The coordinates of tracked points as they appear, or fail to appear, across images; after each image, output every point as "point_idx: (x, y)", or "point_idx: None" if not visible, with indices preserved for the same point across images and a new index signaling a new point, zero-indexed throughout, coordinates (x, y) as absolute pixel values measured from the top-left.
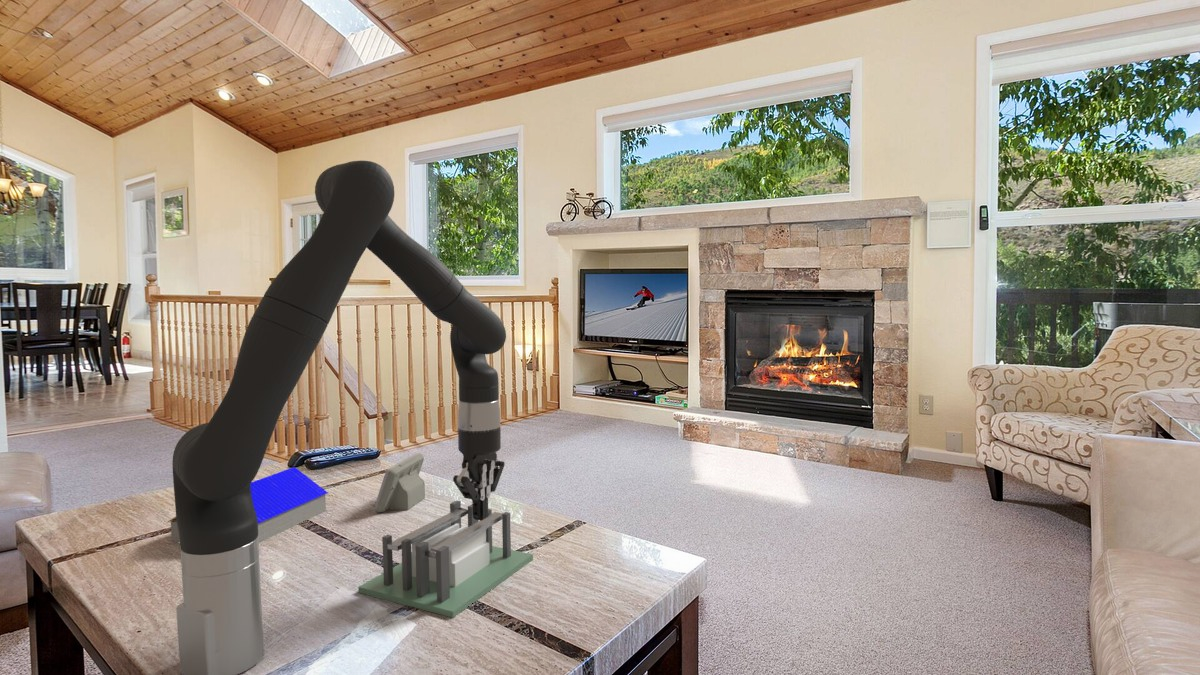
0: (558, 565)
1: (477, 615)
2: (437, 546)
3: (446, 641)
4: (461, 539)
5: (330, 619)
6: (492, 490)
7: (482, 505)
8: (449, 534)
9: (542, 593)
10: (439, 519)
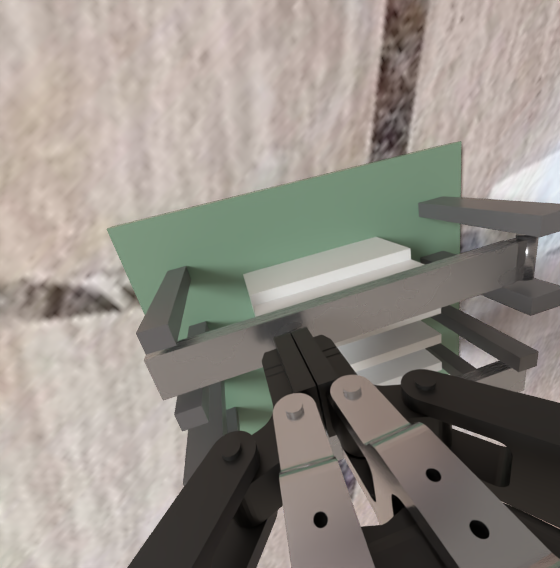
0: (72, 125)
1: (420, 103)
2: (496, 282)
3: (522, 74)
4: (425, 271)
5: (526, 314)
6: (251, 436)
7: (329, 364)
8: (362, 366)
9: (247, 29)
10: (334, 455)
